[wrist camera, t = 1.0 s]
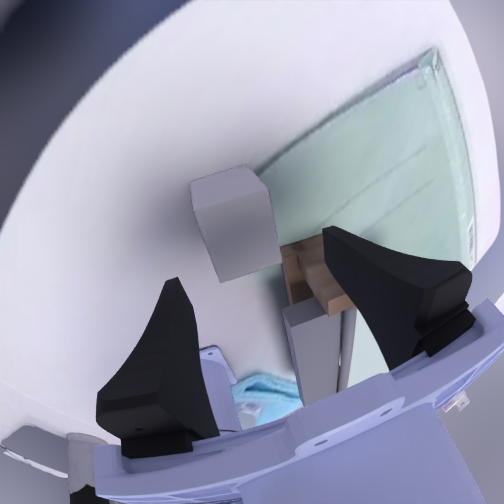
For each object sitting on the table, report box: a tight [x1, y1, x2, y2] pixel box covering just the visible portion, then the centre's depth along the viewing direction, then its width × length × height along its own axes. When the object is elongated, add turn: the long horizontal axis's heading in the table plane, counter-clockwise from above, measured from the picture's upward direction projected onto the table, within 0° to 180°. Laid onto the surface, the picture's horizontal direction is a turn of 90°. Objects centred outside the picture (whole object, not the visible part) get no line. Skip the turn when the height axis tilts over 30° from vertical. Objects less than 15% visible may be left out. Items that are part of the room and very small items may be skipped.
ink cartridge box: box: [442, 390, 470, 412], centre depth 58 cm, size 9×5×15 cm, turn 12°
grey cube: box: [189, 164, 282, 283], centre depth 18 cm, size 4×5×5 cm
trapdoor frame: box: [280, 234, 355, 393], centre depth 26 cm, size 5×22×7 cm, turn 13°
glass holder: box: [67, 433, 118, 504], centre depth 32 cm, size 9×14×15 cm, turn 35°
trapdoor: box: [282, 296, 389, 407], centre depth 25 cm, size 11×18×3 cm, turn 12°
